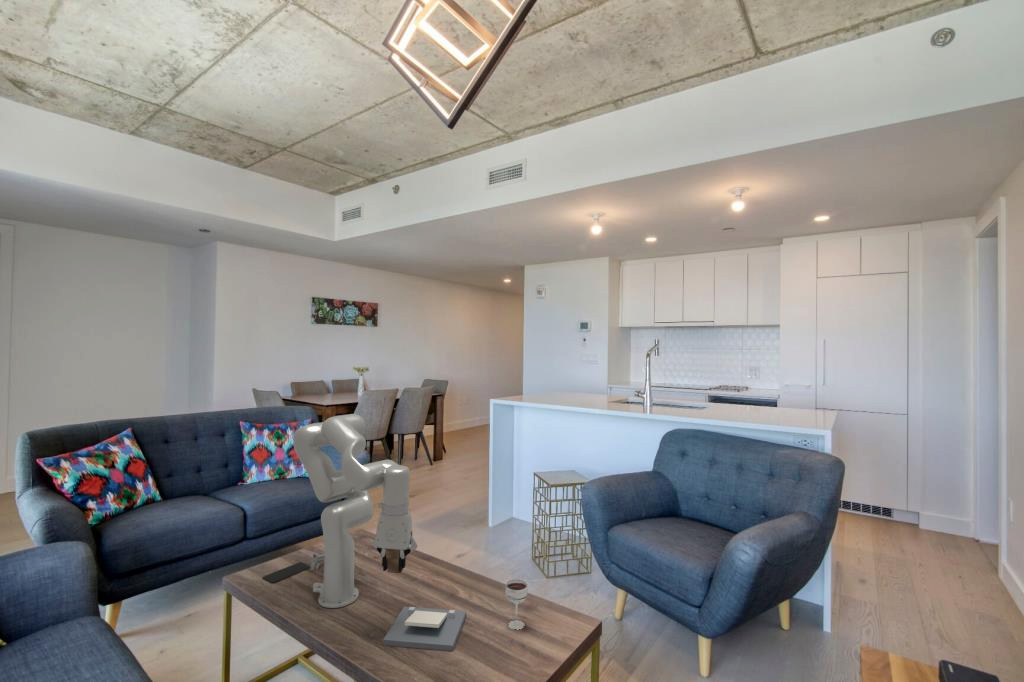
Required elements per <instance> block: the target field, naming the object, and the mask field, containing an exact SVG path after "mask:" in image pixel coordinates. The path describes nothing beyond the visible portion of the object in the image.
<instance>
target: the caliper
mask: <svg viewBox="0 0 1024 682" xmlns="http://www.w3.org/2000/svg"><path fill="white" fill-rule="evenodd" d="M312 555H313V556H312V557H311V560H310V563H309V566H310V569H309V570H310V572H314V571H318V570H319V566H320V564H321V563H323V564H324V554H321V555H320V554H319V553H313V554H312Z"/></svg>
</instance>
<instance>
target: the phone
mask: <svg viewBox="0 0 1024 682" xmlns="http://www.w3.org/2000/svg"><path fill="white" fill-rule="evenodd" d="M307 570H310V564H306V563H304V562H302V561H301V562H296V563H294V564H291V565H289V566H286V567H284V568H281V569H278V570H276V571H274V572H272V573H269V574H267V575H264V576H263V577H262V579H263V580H264V581H266V582H267V583H270V584H277V583H280V582H281V581H284V580H286V579H289V578H291V577H293V576H295V575H298V574H300V573H303V572H305V571H307Z"/></svg>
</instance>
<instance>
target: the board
mask: <svg viewBox="0 0 1024 682" xmlns="http://www.w3.org/2000/svg"><path fill="white" fill-rule="evenodd" d="M415 611H429V612H441V613H447V617H446V619H445V620H444V621H443V623H442V624H441V625H440V627H439V628H433V627H421V626H408V625H405V621H406V620H407V619H408V618H409V617H410V616H411V615H412V614H413V613H414V612H415ZM466 618H467V611H466V610H455V609H442V608H441V609H440V608H429V607H417V606H403V608H402V609H401V611H400V612H399V614H398V616H397V617H396V618H395V620H394V622H393V623H392V625H391V627H390V628H389V630H388V631H387V633H386V635H385V636H384V638H383V639H382V645H383V646H389V647H390V646H391V647H399V648H412V649H422V650H423V649H424V650H436V651H444V652H445V651H447V652H453V651H454V649H455V647H456V644H457V641H458V638H459V636H460V633H461V630H462V628H463V625H464V623H465V620H466Z"/></svg>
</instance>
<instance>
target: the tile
mask: <svg viewBox="0 0 1024 682" xmlns="http://www.w3.org/2000/svg"><path fill="white" fill-rule="evenodd" d="M446 617H447V613H441V612H429V611H415V612H414V613H413V614H412V615H411V616H410V617H409V618H408V619H407V620H406V621H405V625H408V626H421V627H433V628H439V627H440V625H441V624H442V623H443V621H444V620H445V619H446Z"/></svg>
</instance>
